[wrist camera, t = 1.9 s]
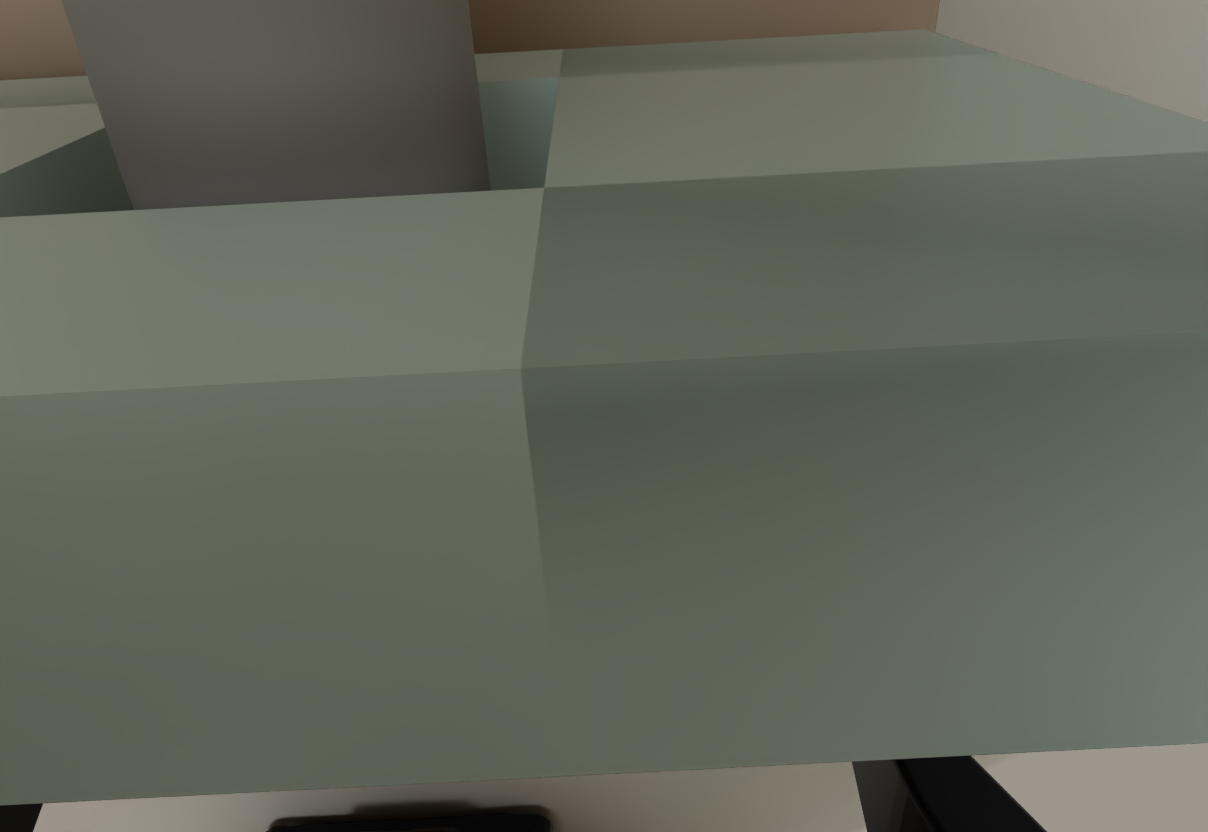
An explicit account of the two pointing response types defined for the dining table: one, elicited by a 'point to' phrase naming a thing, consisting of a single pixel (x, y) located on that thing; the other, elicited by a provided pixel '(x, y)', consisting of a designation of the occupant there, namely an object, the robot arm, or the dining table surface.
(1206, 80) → the dining table surface
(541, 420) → the collar
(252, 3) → the pipe stand
